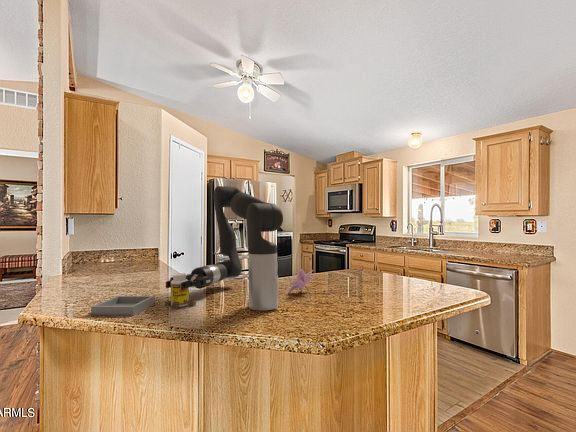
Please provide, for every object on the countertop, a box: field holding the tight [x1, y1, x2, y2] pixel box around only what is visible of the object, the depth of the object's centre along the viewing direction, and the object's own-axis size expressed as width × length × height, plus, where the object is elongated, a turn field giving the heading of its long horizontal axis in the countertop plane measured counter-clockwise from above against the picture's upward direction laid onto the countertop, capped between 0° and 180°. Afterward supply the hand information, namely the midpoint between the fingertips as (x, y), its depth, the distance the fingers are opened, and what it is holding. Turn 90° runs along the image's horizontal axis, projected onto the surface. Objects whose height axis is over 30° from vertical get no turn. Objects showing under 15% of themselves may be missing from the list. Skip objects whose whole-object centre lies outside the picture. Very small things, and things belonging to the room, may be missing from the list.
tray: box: [90, 295, 156, 317], centre depth 98 cm, size 13×13×3 cm
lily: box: [287, 268, 314, 296], centre depth 115 cm, size 12×12×10 cm
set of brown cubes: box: [164, 300, 197, 310], centre depth 102 cm, size 10×10×1 cm
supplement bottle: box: [170, 272, 190, 308], centre depth 101 cm, size 6×6×10 cm
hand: (174, 285), depth 99 cm, fingers closed on supplement bottle, 5 cm apart
